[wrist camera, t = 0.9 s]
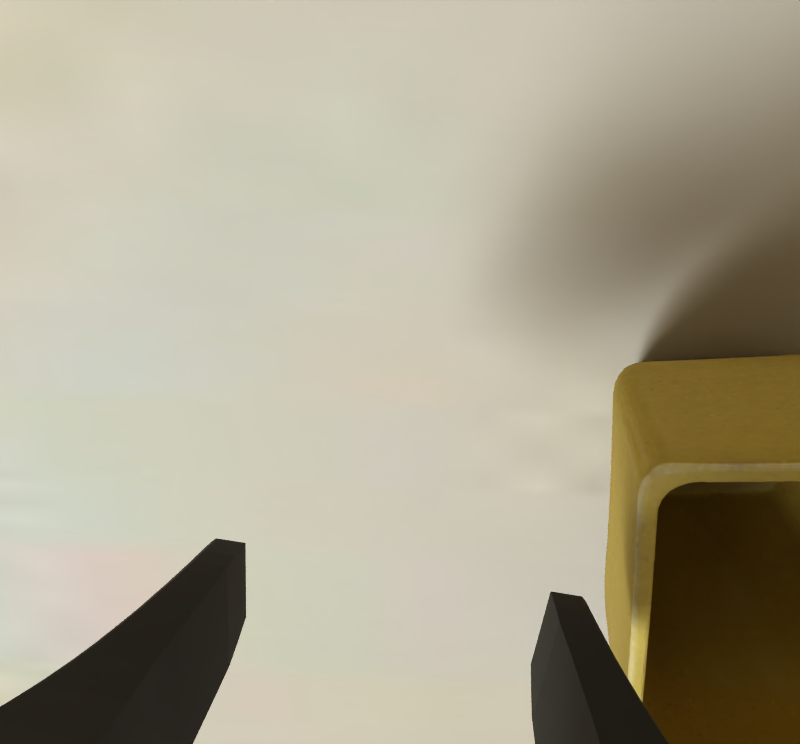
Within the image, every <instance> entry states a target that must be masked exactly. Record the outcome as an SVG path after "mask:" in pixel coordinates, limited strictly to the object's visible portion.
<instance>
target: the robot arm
mask: <svg viewBox="0 0 800 744" xmlns="http://www.w3.org/2000/svg"><path fill="white" fill-rule="evenodd" d="M245 618H246V565H245V543H241V542H235V541H229V540H223V539H215V540H213V541H212V542H211V543H210V544H209V545H207V546H206V547H205V548H204V549H203V550H202V551H201V552H200V553H199V554H198V555H197V556H196V557H195V558H194V559H193V560H192V561H191V562H190V563H189V564H187V565H186V566H185V567H184V568H183V569H182V570H181V571H180V572H179V573H178V574H177V575H176V576H175V577H173V578H172V579H171V580H170V581H169V582H168V583H167V584H166V585H165V586H164V587H162V588H161V589H160V590H159V591H158V592H157V593H155V594H154V595H153V596H152V597H151V598H150V599H149V600H147V601H146V602H145V603H144V604H143V605H142V606H141V607H139V608H138V609H137V610H136V611H135V612H134V613H132V614H131V615H130V616H129V617H127V618H126V619H125V620H124V621H122V622H121V623H120V624H119V625H117V626H116V627H115V628H114V629H112V630H111V631H110V632H109V633H107V634H106V635H105V636H104V637H102V638H101V639H100V640H98V641H97V642H96V643H95V644H93V645H92V646H91V647H89V648H88V649H87V650H85V651H84V652H82V653H81V654H80V655H78V656H77V657H76V658H74V659H73V660H71V661H70V662H69V663H67V664H66V665H64V666H63V667H61V668H60V669H58V670H57V671H56V672H54V673H53V674H51V675H50V676H48V677H47V678H45V679H44V680H42V681H41V682H39V683H38V684H36V685H34V686H33V687H31V688H30V689H28V690H26V691H25V692H23V693H22V694H20V695H19V696H17V697H15V698H14V699H12V700H11V701H9V702H7V703H6V704H4V705H2V706H1V707H0V744H193V742H194V740H195V738H196V736H197V734H198V731H199V729H200V727H201V725H202V723H203V721H204V719H205V717H206V715H207V712H208V710H209V708H210V706H211V704H212V702H213V700H214V698H215V695H216V693H217V691H218V689H219V687H220V685H221V683H222V680H223V678H224V676H225V674H226V672H227V670H228V667H229V665H230V662H231V659H232V657H233V654H234V651H235V648H236V645H237V642H238V639H239V636H240V633H241V630H242V627H243V624H244V621H245ZM531 698H532V721H533V730H534V738H535V744H669V742H668V741H667V739H666V738H665V736H664V735H663V733H662V732H661V730H660V729H659V728H658V726H657V725H656V723H655V722H654V720H653V718H652V717H651V715H650V714H649V712H648V711H647V709H646V708H645V706H644V704H643V703H642V701H641V700H640V698H639V696H638V695H637V693H636V691H635V690H634V688H633V686H632V685H631V683H630V681H629V680H628V678H627V676H626V675H625V673H624V671H623V670H622V668H621V666H620V665H619V663H618V661H617V659H616V658H615V656H614V654H613V652H612V650H611V649H610V647H609V645H608V643H607V641H606V639H605V638H604V636H603V634H602V632H601V630H600V628H599V626H598V624H597V623H596V621H595V619H594V617H593V615H592V613H591V611H590V609H589V607H588V605H587V603H586V601H585V600H584V599H583V597H581V596H575V595H569V594H563V593H556V592H551V593H550V596H549V600H548V604H547V607H546V611H545V615H544V618H543V622H542V626H541V629H540V633H539V637H538V640H537V644H536V648H535V651H534V655H533V659H532V662H531Z"/></svg>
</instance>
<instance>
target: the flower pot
mask: <svg viewBox="0 0 800 744" xmlns="http://www.w3.org/2000/svg"><path fill="white" fill-rule="evenodd" d="M605 607H606V618H607V627H608V635H609V644H610V649H611V650H612V652H613V654H614V656H615V658H616V659H617V661H618V663H619V665H620V666H621V668H622V670H623V671H624V673H625V675H626V676H627V678H628V680H629V681H630V683H631V685H632V686H633V688H634V690H635V691H636V693H637V695H638V696H639V698H640V700H641V701H642V703H643V704H644V706H645V708H646V709H647V711H648V712H649V714H650V715H651V717H652V718H653V720H654V722H655V723H656V725H657V726H658V728H659V729H660V730H661V732H662V733H663V735H664V736H665V738H666V739H667V741H668V742H669V744H800V354H795V355H779V356H761V357H741V358H720V359H700V360H675V361H650V362H641V363H635V364H632V365H630V366H628V367H626V368H625V369H624V370H623V371H622V372H621V373H620V375H619V376H618V378H617V380H616V382H615V387H614V393H613V425H612V455H611V484H610V505H609V523H608V540H607V553H606V567H605Z"/></svg>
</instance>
